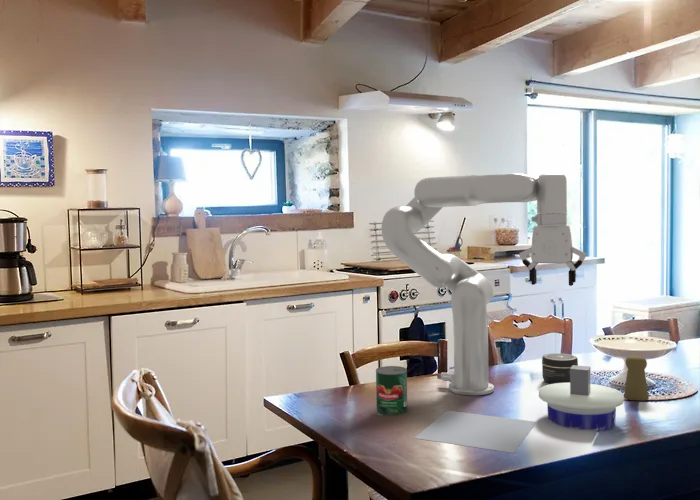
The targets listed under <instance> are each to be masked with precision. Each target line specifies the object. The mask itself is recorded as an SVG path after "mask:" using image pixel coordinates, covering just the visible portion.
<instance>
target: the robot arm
mask: <svg viewBox="0 0 700 500" xmlns="http://www.w3.org/2000/svg"><path fill="white" fill-rule="evenodd" d="M567 185H568V183H567V177H566V175H564V174H563V173H544V174H541V175H529V174H524V173H521V172H520V173H500V174H497V173H496V174H484V175H483V174H482V175H478V174H477V175H476V174H471V175H469V174H468V175H453V176H435V177H431V176H430V177H425V178H423V179H421V180H419V181H418V182H417V183H416V184H415V187H414V194H413V195H414V197H413V198H411V200H410V201H409V202H408V203H407V204H406V205H397V206H394V207H392V208H390V209H388V210H387V211H386V212H385V214H384V215H383V217H382V221H381V236H382V240H383V242H384V244H385V246H386V248H387V249H388V251H389V252H391V254H393V255H394V256H395V257H396V258H397V259H398V260H399V261H401V262H402V263H404V264H405V265H406V266H407V267H409V268H410V269H411V270H412V271H414V272H415V273H416V274H417V275H418V276H420V277H421V278H422V279H424V280H425V281H426V282H427V283H429V285H431V286H433V287H435V288H437V289H443V288H447V289H448V290H449V291H450V292H451V296H450V297H451V299H450V302H451V304H450V305H451V310H452V323H453V361H454V362H453V364H454V365H453V372H451V373H449V372H441V373H440V379H441V380H442V381H447V382H450V384H448V389H449V391H450V392H452V393H454V394H457V395H463V396H464V395H465V396H483V395H489V394H491V393H493V392H494V391H495V386H494V384H492V383H491V382H489V330H488V329H489V326H488V325H489V323H488V313H487V312H488V311H487V305H488V304H489V303H491V300H492V299H493V296H494V289H493V285H492V284H491V283H492V282H490V280H488V279H487V277H486V276H485V275H483V274H481V273H480V272H479V271H477V270H476V269H475V268H474V267H472V266H471V265H470V264H468V263H467V262H465V261H464V260H463V259H462V258H461V257H458V256H457V255H455V254H452V253H441V252H439V251H438V250H436V249H434V248H433V247H432V246H430V245H429V244H428V243H427V242H426V241H425V240H422V239H421V238H420V237H417V236H416V233H418V232H419V231H421V230H422V229H423V228H424V227H425V226H426V225H427V224H428V223H429V222H431V220H432V219H433V218H434V217H435V216H436V215H437V214H438V213H439V212H440V211H441V210H442V209H443V208H447V207H449V208H450V207H474V206H475V207H476V206H479V205H482V204H497V203H499V204H501V203H529V202H536V208H537V209H536V213H537V214H536V215H534V216H531V222H534V223H536V225H534V226H533V230H532V237H531V246H530V247H529V248H527V249H525V250H522V252H519V254H518V255H519V258H520V260H521V261H522V263H523V265H524V266H525V267H526V268H527V269H528V271H529V272H528V273H529V274H528V275H529V276H528V277H529V279H528V280H529V282H531V283H530V284H531V286H533V285H536V284H537V282H538V281H537V268H536V266H537V265H538V264H565V265H566V266H567V267H568V268H569V270H568V286H570V287H572V286H573V285H574V283H576V282H577V281H576V278H577V277H576V276H577V273H576V270H577V269H578V268H579V267H581V265H582V264H583V263H584V261H585V259H586V258H587V253H586V252H584V251H582V250H580V249H578V248H576V247H574V246H573V240H572V232H571V228H570V225H568V224H567V223H568V221H567V220H568V218H567V216H568V214H567V212H568V210H567V209H568V206H567V203H568V202H567V201H568V199H567V195H568V194H567V191H568V190H567V188H568V187H567ZM529 254H530V255H531V256H530V260H531V262H530V260H528V258H527V255H529ZM574 254H575V255H577V256H578V257H579V258H578V259H577V261H576V262H575V263H574V261H573V255H574Z"/></svg>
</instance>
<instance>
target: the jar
mask: <svg viewBox="0 0 700 500" xmlns="http://www.w3.org/2000/svg"><path fill="white" fill-rule="evenodd" d="M541 360H542V361H541V365H542V372H541V373H542V375H541V376H542V378H543V381H544V383H545V384H546V385H549V384H555V383H570V368H571V367H572V366H573V365H577V366H579V361H578V360H579V359H578V357H577V356H576V355H573V354H569V353H561V352H560V353H556V352H555V353H553V352H552V353H546V354H543V355H542V358H541Z"/></svg>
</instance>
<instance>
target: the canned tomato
mask: <svg viewBox="0 0 700 500" xmlns="http://www.w3.org/2000/svg"><path fill="white" fill-rule="evenodd" d="M407 372H408V369H407V368H406V367H404V366H398V365H387V366H379V367H378V368H376V369H375V384H376V385H375V387H376V389H375V390H376V391H375V393H376V396H375V397H376V399H375V400H376V402H375V403H376V411H375V412H376V414H377V415H378V416H381V417H382V416H384V415H386V416H394V415H395V416H396V415H397V416H398V415H403V414H405V413H407V412H408V373H407Z"/></svg>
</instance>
